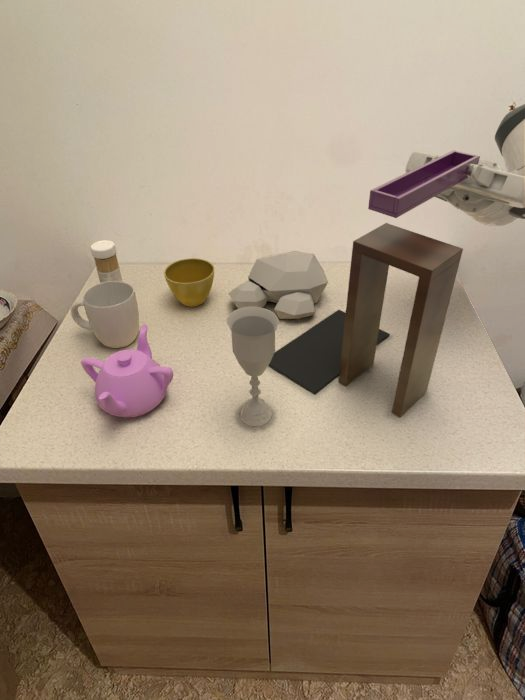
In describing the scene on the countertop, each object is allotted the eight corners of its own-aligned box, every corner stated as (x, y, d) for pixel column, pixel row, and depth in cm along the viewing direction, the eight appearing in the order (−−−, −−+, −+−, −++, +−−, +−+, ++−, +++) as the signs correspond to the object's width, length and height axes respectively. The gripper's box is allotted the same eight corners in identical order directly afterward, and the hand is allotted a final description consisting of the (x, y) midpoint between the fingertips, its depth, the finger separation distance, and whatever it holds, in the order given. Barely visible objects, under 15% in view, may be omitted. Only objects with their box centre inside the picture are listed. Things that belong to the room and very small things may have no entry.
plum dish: (449, 167, 79) (453, 150, 78) (476, 173, 77) (480, 156, 75) (367, 209, 67) (370, 190, 66) (396, 218, 65) (399, 198, 63)
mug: (149, 326, 98) (141, 282, 92) (133, 354, 91) (123, 309, 85) (88, 321, 100) (76, 277, 94) (68, 349, 93) (53, 303, 87)
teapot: (153, 362, 90) (146, 322, 84) (184, 410, 80) (177, 368, 75) (87, 386, 85) (74, 344, 80) (111, 439, 76) (98, 397, 70)
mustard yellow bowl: (162, 311, 102) (157, 281, 98) (176, 286, 110) (172, 256, 106) (210, 315, 101) (207, 284, 97) (221, 289, 109) (218, 259, 104)
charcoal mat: (338, 311, 101) (338, 309, 101) (389, 335, 95) (389, 333, 94) (262, 362, 89) (262, 360, 89) (314, 394, 83) (314, 392, 82)
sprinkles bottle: (121, 294, 108) (108, 237, 99) (131, 303, 105) (118, 245, 96) (101, 302, 105) (86, 244, 97) (111, 311, 103) (96, 252, 94)
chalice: (224, 414, 79) (215, 321, 68) (253, 392, 83) (250, 300, 72) (258, 438, 75) (255, 343, 64) (287, 413, 79) (289, 320, 68)
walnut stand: (366, 360, 89) (386, 222, 73) (426, 392, 83) (463, 248, 66) (338, 382, 85) (353, 241, 69) (400, 418, 78) (432, 270, 62)
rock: (326, 327, 97) (329, 284, 91) (224, 321, 99) (220, 279, 93) (327, 279, 111) (330, 239, 105) (238, 275, 113) (235, 235, 107)
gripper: (531, 223, 81) (511, 204, 70) (418, 191, 92) (387, 170, 82) (550, 184, 79) (533, 158, 68) (433, 156, 91) (402, 131, 80)
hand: (452, 164), depth 75 cm, fingers closed on plum dish, 4 cm apart
